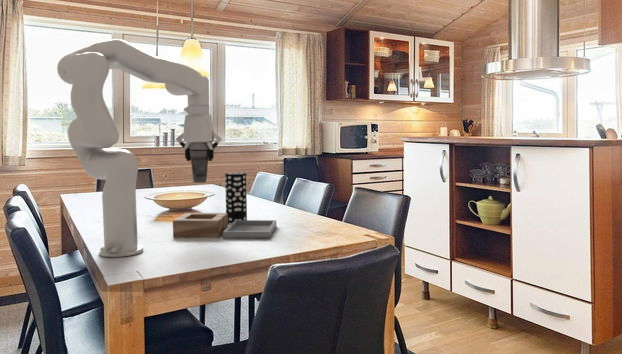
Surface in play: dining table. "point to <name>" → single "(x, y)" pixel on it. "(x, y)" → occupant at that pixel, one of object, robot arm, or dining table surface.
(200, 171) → the beverage cup
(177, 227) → the walnut sleeve
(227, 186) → the spotted tube
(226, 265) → the dining table surface
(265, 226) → the slate tray
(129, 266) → the dining table surface
